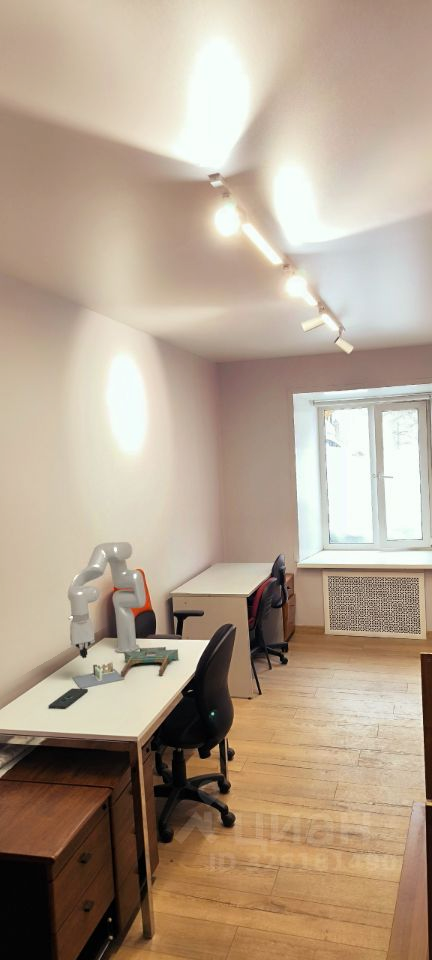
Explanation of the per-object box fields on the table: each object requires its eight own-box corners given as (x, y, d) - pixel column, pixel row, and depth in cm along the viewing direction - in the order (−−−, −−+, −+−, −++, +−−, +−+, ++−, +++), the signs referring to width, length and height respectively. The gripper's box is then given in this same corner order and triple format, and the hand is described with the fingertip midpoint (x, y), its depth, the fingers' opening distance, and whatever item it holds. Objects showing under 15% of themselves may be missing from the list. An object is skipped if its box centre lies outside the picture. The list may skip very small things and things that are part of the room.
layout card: (72, 678, 291) (72, 677, 291) (114, 669, 299) (114, 668, 299) (80, 688, 275) (80, 687, 275) (124, 679, 283) (124, 678, 283)
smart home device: (47, 705, 254) (71, 688, 274) (47, 709, 254) (71, 692, 274) (65, 706, 252) (88, 688, 271) (65, 710, 252) (88, 692, 271)
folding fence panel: (95, 675, 290) (94, 667, 290) (97, 674, 290) (96, 666, 290) (99, 679, 283) (99, 671, 283) (102, 679, 284) (101, 670, 283)
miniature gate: (111, 668, 286) (127, 646, 316) (113, 680, 286) (128, 657, 316) (170, 666, 283) (180, 644, 313) (171, 678, 284) (181, 655, 314)
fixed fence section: (94, 675, 290) (93, 666, 290) (93, 674, 292) (92, 665, 292) (113, 671, 294) (113, 662, 294) (112, 670, 295) (112, 661, 295)
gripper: (65, 622, 278) (69, 663, 278) (98, 616, 284) (102, 656, 285) (62, 618, 284) (65, 658, 285) (94, 612, 291) (98, 651, 291)
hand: (84, 657), depth 285 cm, fingers closed
